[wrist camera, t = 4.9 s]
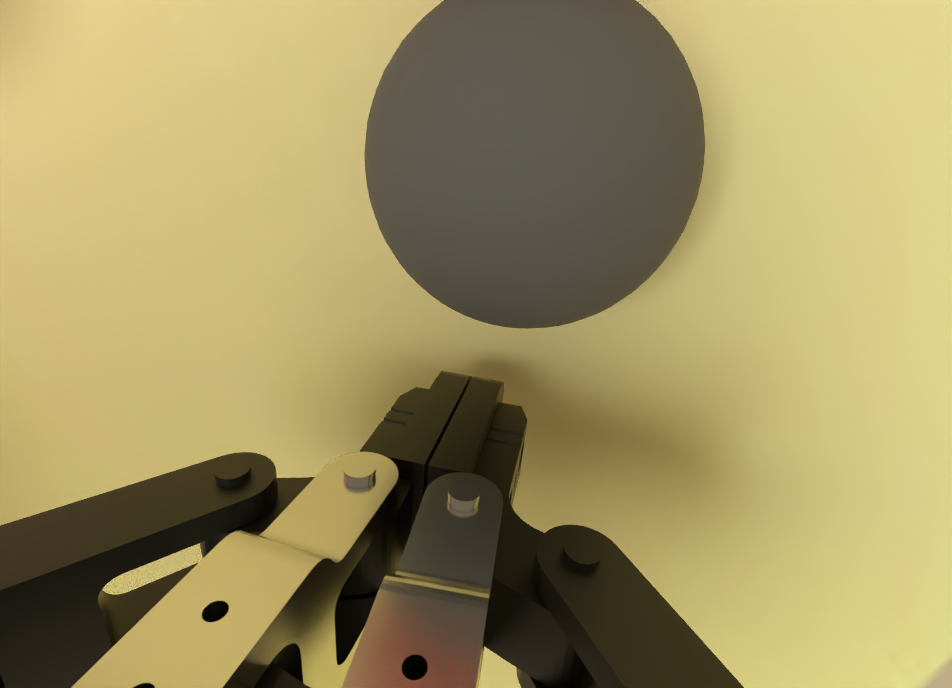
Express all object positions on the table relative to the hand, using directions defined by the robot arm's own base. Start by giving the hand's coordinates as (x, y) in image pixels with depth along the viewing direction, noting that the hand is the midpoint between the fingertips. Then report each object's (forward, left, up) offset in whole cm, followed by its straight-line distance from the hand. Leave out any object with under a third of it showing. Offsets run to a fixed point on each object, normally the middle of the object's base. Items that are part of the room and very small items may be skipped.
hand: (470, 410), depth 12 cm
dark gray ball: (+5, +3, +1) cm, 6 cm away
